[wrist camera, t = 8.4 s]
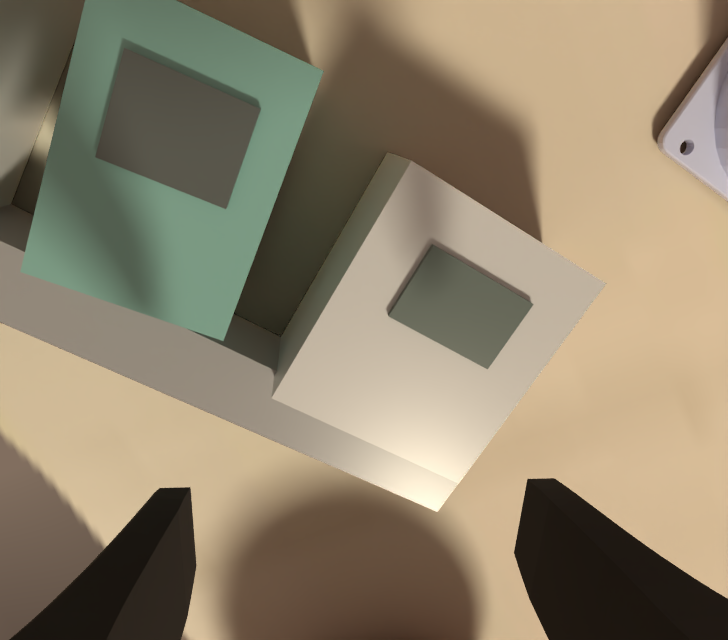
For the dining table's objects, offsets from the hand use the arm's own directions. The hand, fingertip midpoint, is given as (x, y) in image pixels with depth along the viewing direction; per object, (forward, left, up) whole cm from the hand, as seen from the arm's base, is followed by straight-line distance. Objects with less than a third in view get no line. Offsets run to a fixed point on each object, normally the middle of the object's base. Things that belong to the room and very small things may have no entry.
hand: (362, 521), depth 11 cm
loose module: (+7, -4, -10) cm, 13 cm away
